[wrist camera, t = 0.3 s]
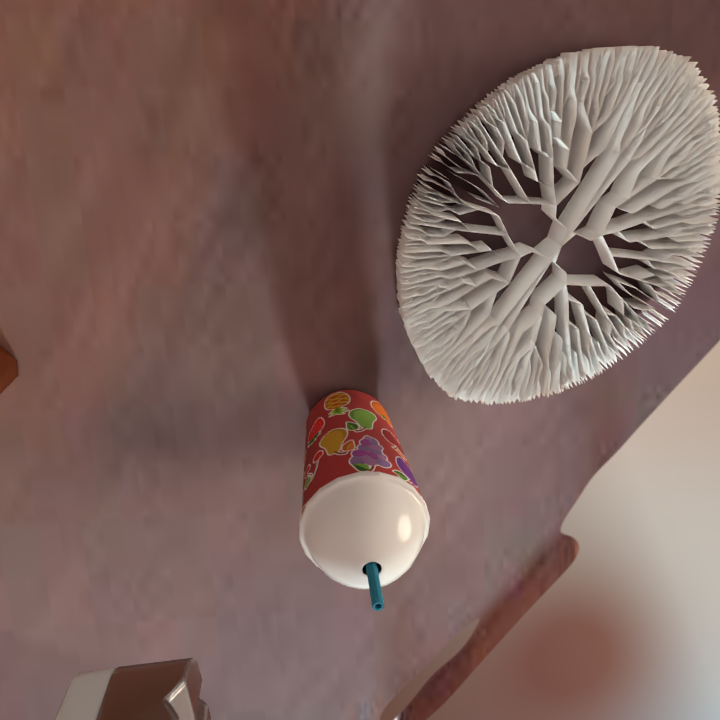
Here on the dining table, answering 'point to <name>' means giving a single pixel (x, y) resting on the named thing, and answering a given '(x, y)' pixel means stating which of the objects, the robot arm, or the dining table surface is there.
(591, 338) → the spiky fractal disc
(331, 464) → the smoothie
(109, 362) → the dining table surface
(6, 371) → the whiskey bottle
